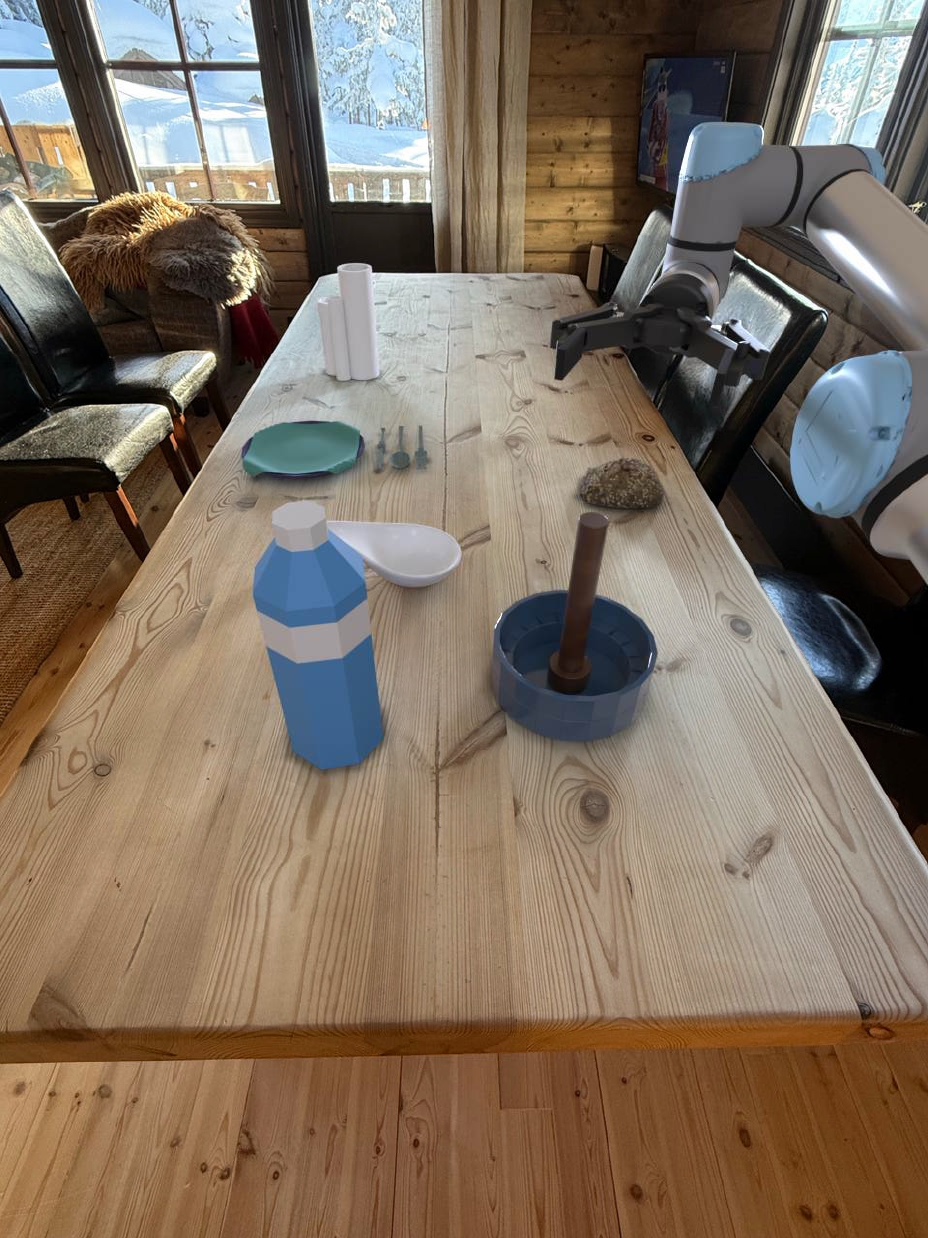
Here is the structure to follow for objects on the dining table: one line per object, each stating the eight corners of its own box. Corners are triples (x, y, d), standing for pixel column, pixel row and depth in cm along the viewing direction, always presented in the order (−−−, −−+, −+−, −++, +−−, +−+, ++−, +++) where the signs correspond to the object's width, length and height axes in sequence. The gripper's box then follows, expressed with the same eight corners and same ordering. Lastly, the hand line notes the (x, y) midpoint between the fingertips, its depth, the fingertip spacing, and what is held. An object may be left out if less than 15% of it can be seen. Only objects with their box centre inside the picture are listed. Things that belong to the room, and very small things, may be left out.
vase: (381, 368, 139) (373, 263, 126) (377, 381, 133) (369, 272, 120) (328, 367, 139) (315, 262, 126) (321, 380, 133) (307, 271, 120)
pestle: (596, 678, 70) (628, 518, 57) (574, 702, 68) (603, 539, 54) (561, 659, 72) (585, 500, 59) (538, 682, 70) (558, 521, 57)
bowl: (671, 677, 71) (685, 633, 67) (593, 773, 62) (603, 728, 57) (546, 615, 79) (551, 571, 75) (460, 691, 69) (460, 646, 65)
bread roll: (665, 515, 96) (672, 485, 93) (579, 509, 97) (584, 479, 94) (656, 473, 106) (663, 444, 102) (579, 467, 107) (583, 439, 103)
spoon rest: (458, 546, 90) (459, 500, 85) (464, 600, 81) (464, 552, 76) (282, 551, 88) (273, 504, 84) (268, 607, 79) (257, 558, 75)
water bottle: (311, 690, 69) (266, 477, 53) (396, 704, 68) (378, 490, 52) (274, 761, 62) (209, 541, 46) (368, 778, 61) (336, 558, 45)
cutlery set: (255, 431, 116) (253, 418, 114) (426, 428, 117) (425, 416, 115) (231, 488, 101) (228, 475, 99) (427, 484, 102) (427, 471, 100)
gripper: (788, 362, 70) (774, 444, 55) (563, 330, 78) (498, 395, 63) (813, 286, 65) (805, 354, 51) (570, 259, 73) (502, 312, 58)
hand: (635, 377), depth 57 cm, fingers open, 13 cm apart
